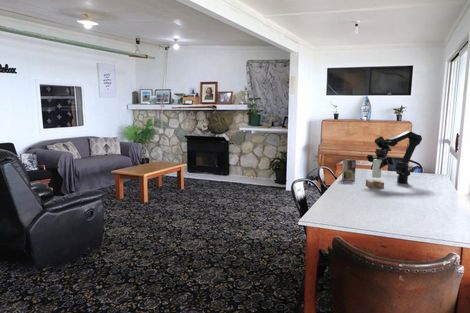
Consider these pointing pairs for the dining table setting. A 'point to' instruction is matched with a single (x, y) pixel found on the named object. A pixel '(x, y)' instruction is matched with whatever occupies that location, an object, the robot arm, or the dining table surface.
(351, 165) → the coffee box
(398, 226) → the dining table surface
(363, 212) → the dining table surface
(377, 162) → the sage block
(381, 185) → the walnut base block
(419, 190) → the dining table surface
